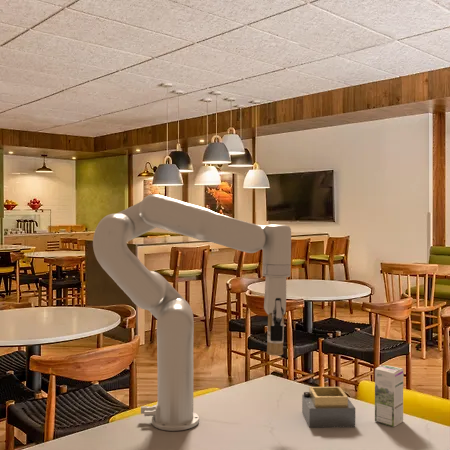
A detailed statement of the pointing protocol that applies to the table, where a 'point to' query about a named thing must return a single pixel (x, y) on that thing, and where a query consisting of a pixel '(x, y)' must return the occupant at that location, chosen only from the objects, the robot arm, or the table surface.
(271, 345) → the sprinkles bottle
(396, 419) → the syrup box
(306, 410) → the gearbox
